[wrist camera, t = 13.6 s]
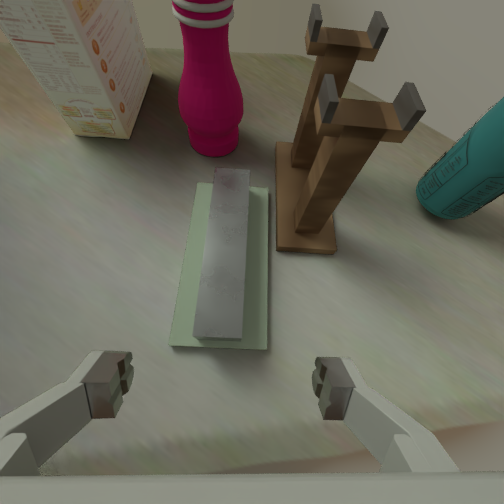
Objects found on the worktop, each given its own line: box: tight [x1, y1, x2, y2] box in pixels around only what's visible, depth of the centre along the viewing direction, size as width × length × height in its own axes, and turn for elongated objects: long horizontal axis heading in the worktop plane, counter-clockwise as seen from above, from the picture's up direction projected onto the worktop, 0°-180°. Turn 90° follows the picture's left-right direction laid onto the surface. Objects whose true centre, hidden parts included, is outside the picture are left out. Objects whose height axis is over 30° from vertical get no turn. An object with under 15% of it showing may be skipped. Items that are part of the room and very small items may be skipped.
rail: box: [192, 167, 250, 342], centre depth 21 cm, size 4×16×3 cm, turn 178°
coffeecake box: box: [0, 0, 153, 139], centre depth 23 cm, size 15×7×20 cm, turn 179°
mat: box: [169, 182, 268, 350], centre depth 23 cm, size 8×17×1 cm, turn 178°
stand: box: [275, 4, 426, 254], centre depth 21 cm, size 6×15×14 cm, turn 178°
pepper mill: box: [172, 0, 243, 157], centre depth 21 cm, size 7×7×20 cm
